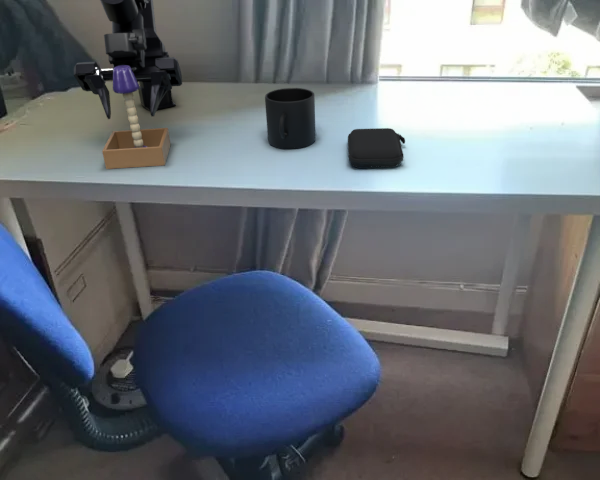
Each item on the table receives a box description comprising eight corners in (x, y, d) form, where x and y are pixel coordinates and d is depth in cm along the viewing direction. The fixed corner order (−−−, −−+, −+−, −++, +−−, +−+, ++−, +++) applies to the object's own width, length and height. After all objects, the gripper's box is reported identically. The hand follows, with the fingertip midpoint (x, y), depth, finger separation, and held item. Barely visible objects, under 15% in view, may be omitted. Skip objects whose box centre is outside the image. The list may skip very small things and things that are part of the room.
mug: (258, 153, 119) (254, 105, 113) (275, 131, 128) (272, 87, 123) (306, 155, 117) (304, 107, 111) (320, 133, 126) (319, 88, 121)
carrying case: (409, 170, 109) (402, 140, 121) (410, 153, 107) (403, 125, 119) (348, 171, 110) (347, 141, 122) (348, 154, 108) (347, 126, 120)
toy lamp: (146, 161, 117) (129, 70, 108) (123, 160, 118) (104, 70, 109) (155, 152, 121) (139, 63, 112) (133, 151, 122) (115, 63, 113)
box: (116, 148, 124) (112, 131, 122) (170, 144, 124) (168, 127, 122) (106, 169, 115) (102, 151, 113) (165, 165, 115) (161, 147, 113)
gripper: (62, 15, 109) (63, 97, 106) (170, 9, 109) (173, 90, 106) (83, 52, 120) (84, 127, 117) (180, 46, 120) (184, 121, 117)
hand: (130, 116), depth 114 cm, fingers open, 8 cm apart
